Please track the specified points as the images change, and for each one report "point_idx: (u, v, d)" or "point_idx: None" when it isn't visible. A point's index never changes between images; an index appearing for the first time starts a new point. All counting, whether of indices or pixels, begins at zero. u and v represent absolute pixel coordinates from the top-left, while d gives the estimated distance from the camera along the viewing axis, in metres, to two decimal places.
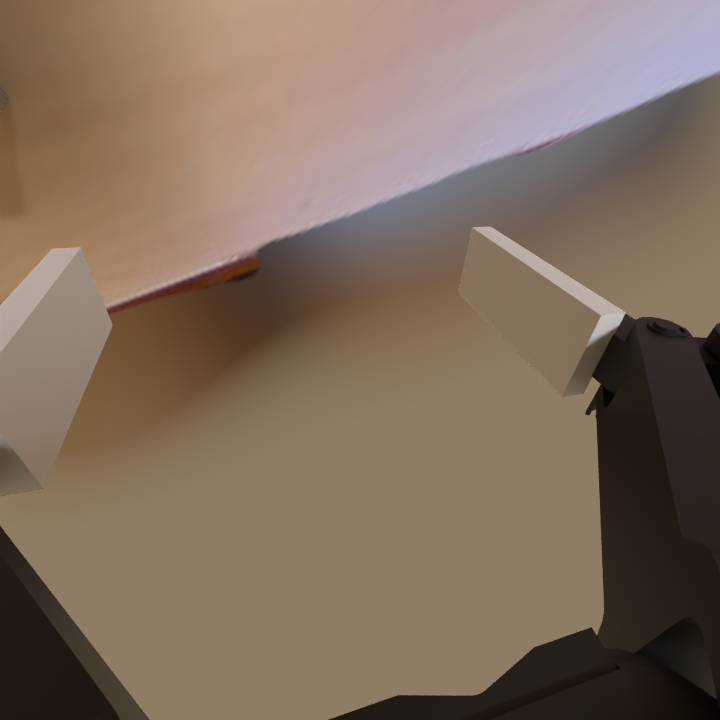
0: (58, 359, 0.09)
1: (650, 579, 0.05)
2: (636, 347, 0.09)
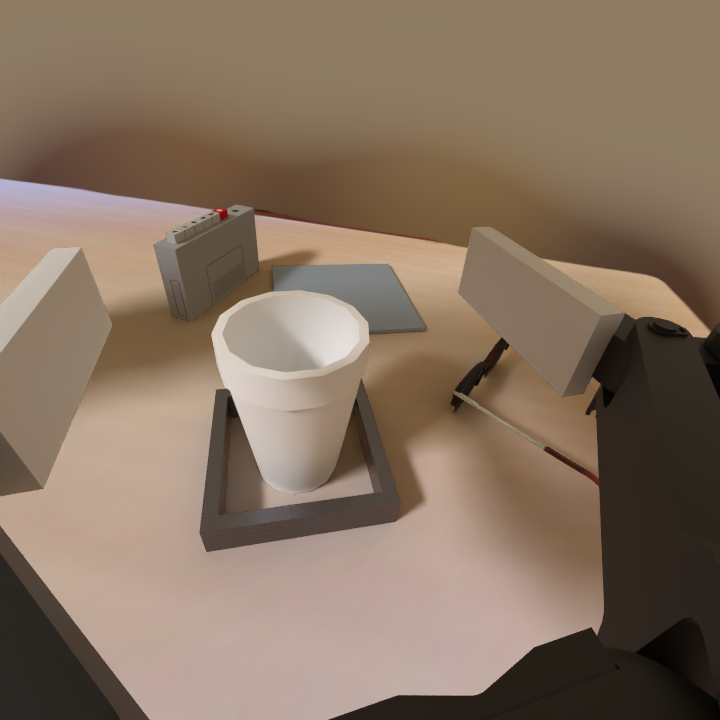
0: (58, 359, 0.09)
1: (651, 578, 0.06)
2: (636, 347, 0.09)
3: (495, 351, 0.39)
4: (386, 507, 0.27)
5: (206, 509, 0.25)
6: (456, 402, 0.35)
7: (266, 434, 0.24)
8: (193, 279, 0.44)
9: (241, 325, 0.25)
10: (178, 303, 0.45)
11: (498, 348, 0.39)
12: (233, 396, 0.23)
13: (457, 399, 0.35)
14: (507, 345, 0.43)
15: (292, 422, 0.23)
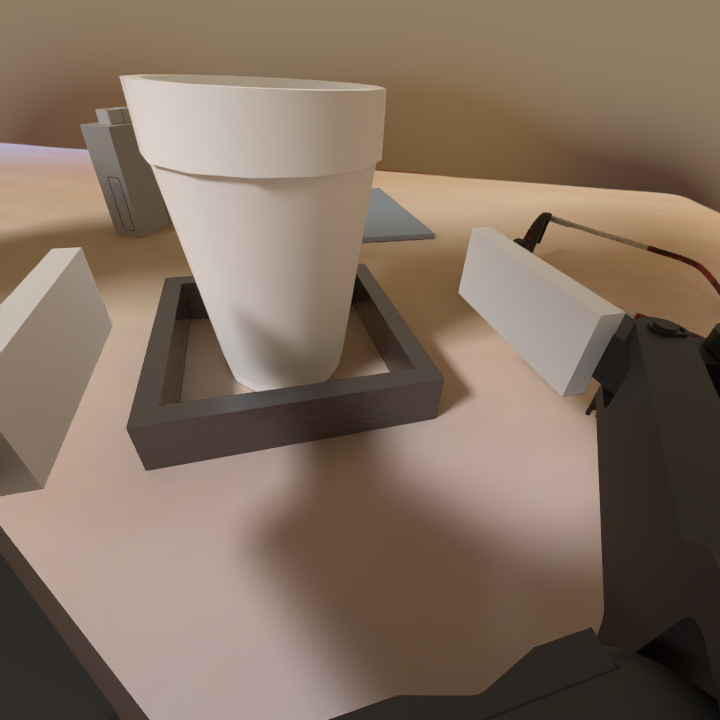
0: (58, 359, 0.09)
1: (650, 578, 0.05)
2: (636, 347, 0.09)
3: (533, 230, 0.30)
4: (423, 387, 0.18)
5: (140, 399, 0.16)
6: None
7: (227, 260, 0.15)
8: (138, 179, 0.35)
9: None
10: (122, 212, 0.35)
11: (536, 227, 0.30)
12: (166, 189, 0.14)
13: None
14: (540, 237, 0.34)
15: (267, 216, 0.13)
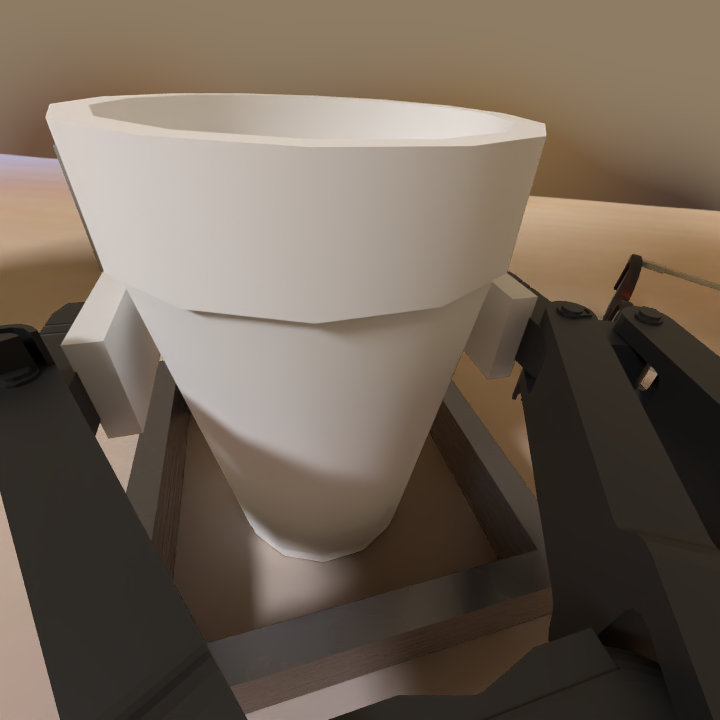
0: (144, 326, 0.11)
1: (592, 567, 0.06)
2: (550, 332, 0.09)
3: (631, 284, 0.23)
4: None
5: None
6: None
7: (252, 426, 0.08)
8: None
9: None
10: None
11: (634, 280, 0.23)
12: (142, 311, 0.07)
13: None
14: None
15: (333, 373, 0.07)
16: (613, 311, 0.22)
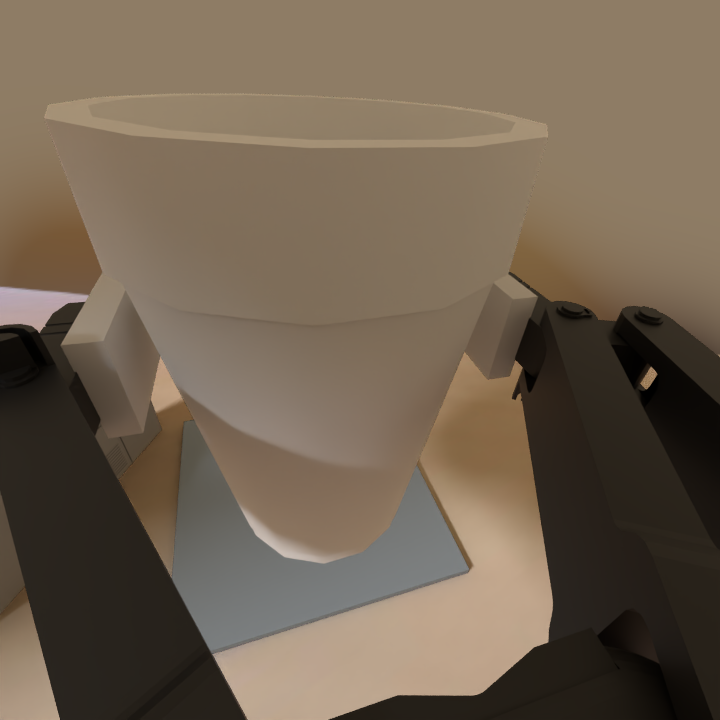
0: (144, 326, 0.11)
1: (592, 567, 0.06)
2: (550, 332, 0.09)
3: None
4: None
5: None
6: None
7: (251, 427, 0.08)
8: None
9: None
10: None
11: None
12: (141, 313, 0.07)
13: None
14: None
15: (334, 375, 0.07)
16: None
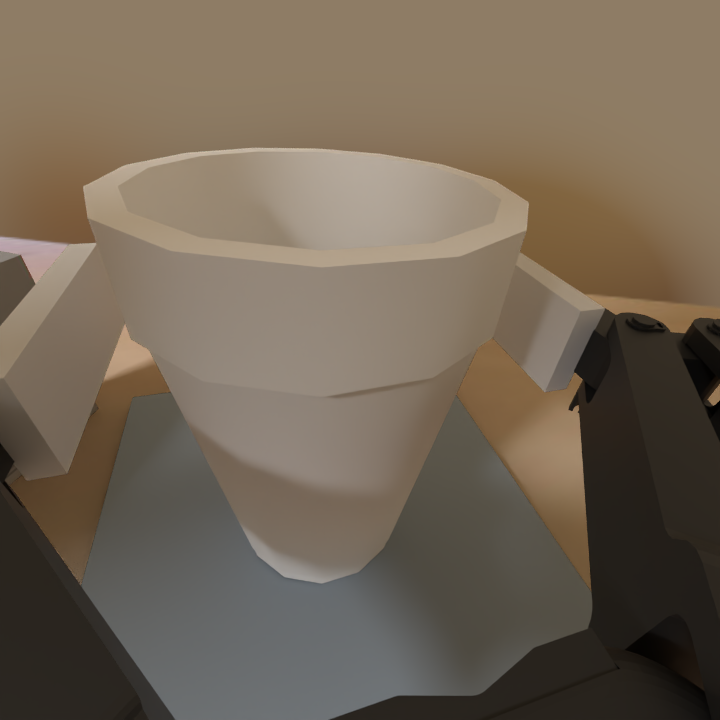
0: (78, 350, 0.10)
1: (638, 575, 0.06)
2: (616, 343, 0.09)
3: None
4: None
5: None
6: None
7: (259, 470, 0.09)
8: None
9: (187, 208, 0.11)
10: None
11: None
12: (163, 369, 0.08)
13: None
14: None
15: (336, 430, 0.08)
16: None
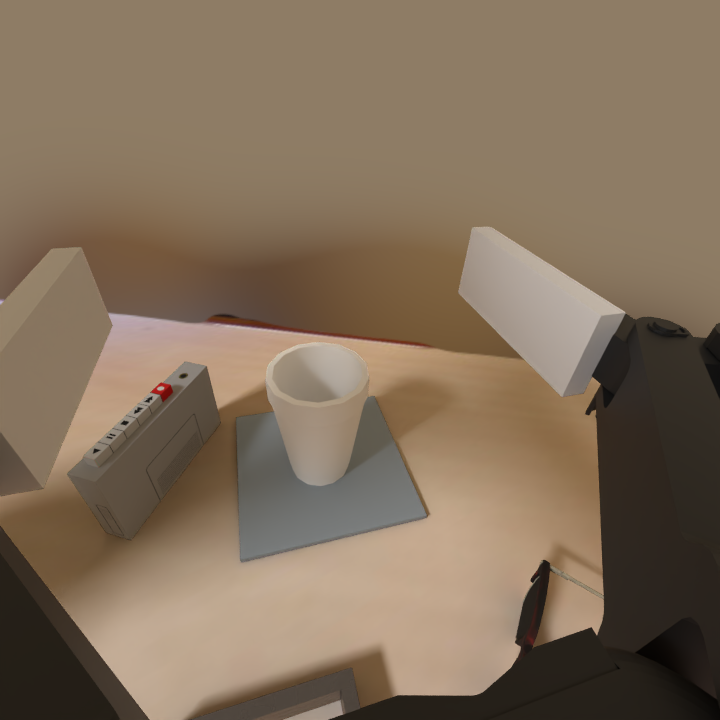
0: (58, 359, 0.09)
1: (651, 578, 0.06)
2: (636, 347, 0.09)
3: (535, 628, 0.28)
4: None
5: None
6: None
7: (303, 443, 0.36)
8: (127, 495, 0.34)
9: (280, 370, 0.37)
10: (111, 524, 0.35)
11: (538, 622, 0.28)
12: (281, 419, 0.35)
13: None
14: (538, 581, 0.32)
15: (322, 434, 0.34)
16: None
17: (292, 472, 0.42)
